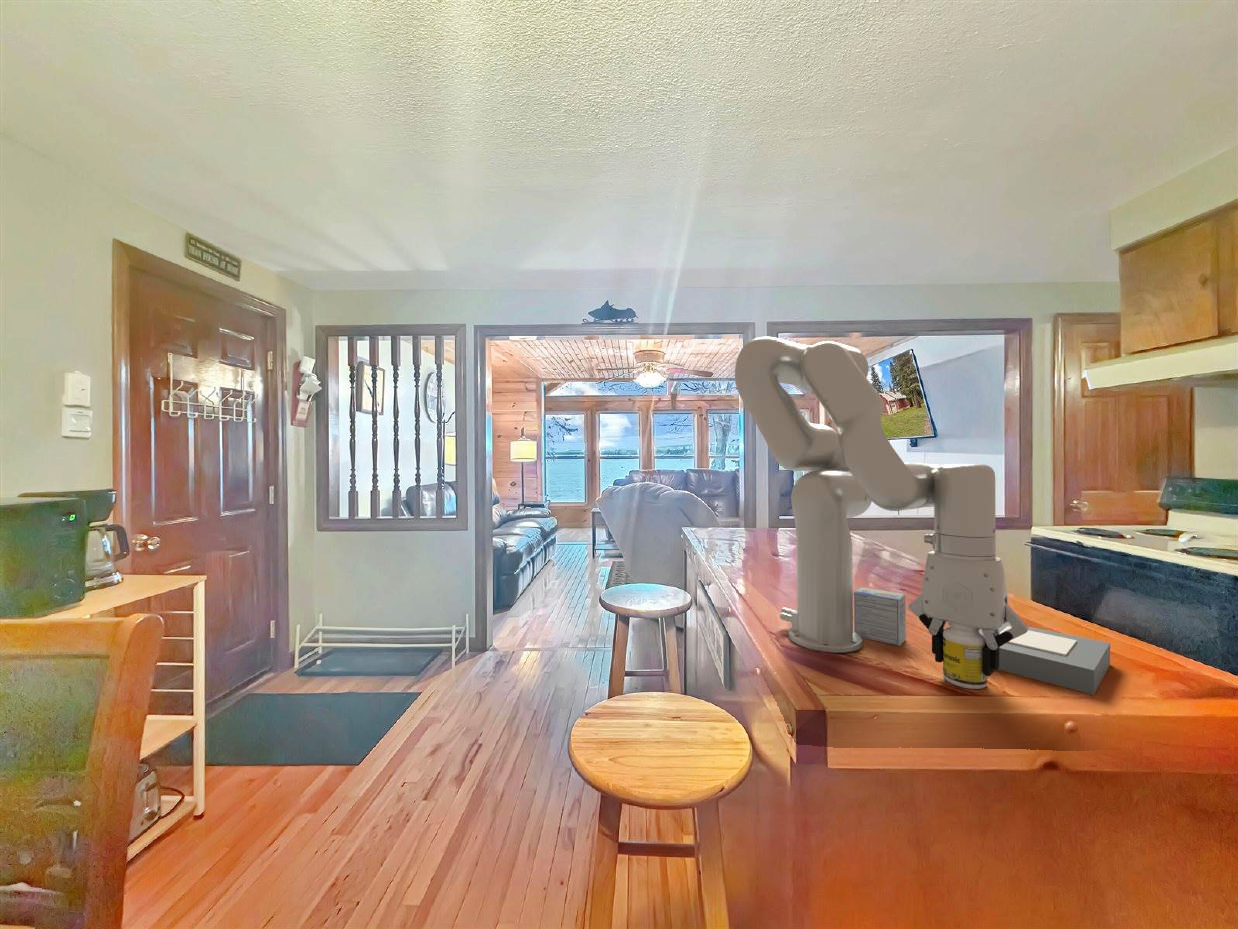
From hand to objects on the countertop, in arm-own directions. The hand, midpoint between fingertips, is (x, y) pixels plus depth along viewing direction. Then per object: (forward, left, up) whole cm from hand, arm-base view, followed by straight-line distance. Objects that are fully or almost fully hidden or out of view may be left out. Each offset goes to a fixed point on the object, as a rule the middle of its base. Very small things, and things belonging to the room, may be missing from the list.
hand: (964, 665), depth 73 cm
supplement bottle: (0, 0, -3) cm, 3 cm away
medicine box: (-16, +9, -3) cm, 19 cm away
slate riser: (+5, +17, -2) cm, 18 cm away
